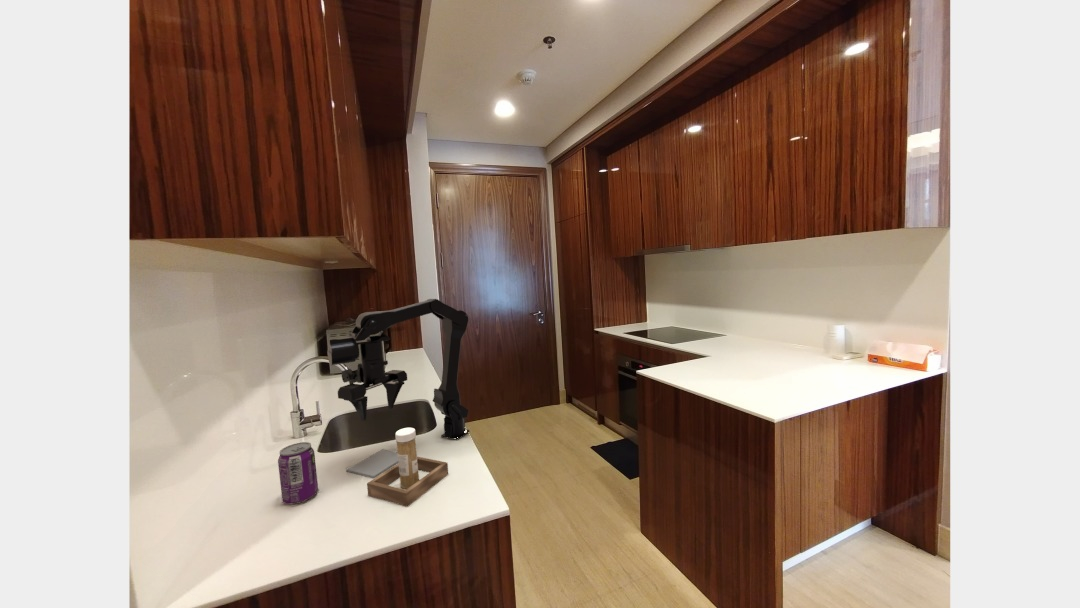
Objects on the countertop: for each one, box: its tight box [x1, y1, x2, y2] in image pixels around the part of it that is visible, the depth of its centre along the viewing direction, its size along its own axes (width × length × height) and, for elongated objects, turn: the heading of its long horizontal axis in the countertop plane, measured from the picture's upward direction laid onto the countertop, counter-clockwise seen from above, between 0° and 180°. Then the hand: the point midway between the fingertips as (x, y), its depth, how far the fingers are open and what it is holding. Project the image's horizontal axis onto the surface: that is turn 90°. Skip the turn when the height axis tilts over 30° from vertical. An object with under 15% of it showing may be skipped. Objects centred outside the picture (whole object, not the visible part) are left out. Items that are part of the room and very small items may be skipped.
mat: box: [346, 448, 398, 479], centre depth 101 cm, size 12×10×1 cm
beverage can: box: [277, 441, 319, 505], centre depth 86 cm, size 7×7×12 cm
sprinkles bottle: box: [394, 427, 420, 490], centre depth 89 cm, size 5×5×14 cm
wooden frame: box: [366, 456, 449, 507], centre depth 90 cm, size 14×12×3 cm
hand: (377, 414), depth 102 cm, fingers open, 9 cm apart
